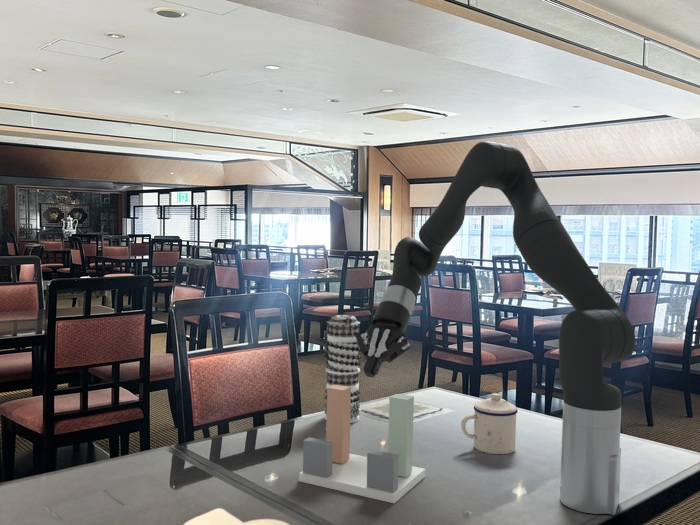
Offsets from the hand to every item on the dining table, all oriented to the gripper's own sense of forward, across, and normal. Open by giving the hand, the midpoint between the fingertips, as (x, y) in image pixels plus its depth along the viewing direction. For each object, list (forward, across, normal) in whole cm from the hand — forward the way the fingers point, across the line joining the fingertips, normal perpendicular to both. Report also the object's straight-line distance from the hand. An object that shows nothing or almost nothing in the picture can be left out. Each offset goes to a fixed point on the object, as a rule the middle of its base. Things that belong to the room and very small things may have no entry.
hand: (368, 374), depth 136 cm
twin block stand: (+22, +7, +1) cm, 23 cm away
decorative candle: (-1, -16, +24) cm, 28 cm away
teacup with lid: (+1, +22, +21) cm, 30 cm away
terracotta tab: (+19, 0, +1) cm, 19 cm away
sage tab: (+19, +13, +1) cm, 23 cm away
